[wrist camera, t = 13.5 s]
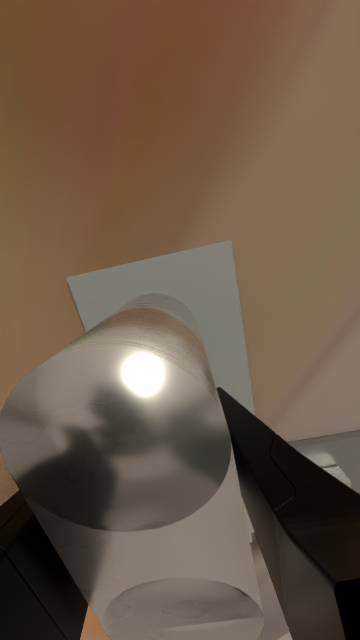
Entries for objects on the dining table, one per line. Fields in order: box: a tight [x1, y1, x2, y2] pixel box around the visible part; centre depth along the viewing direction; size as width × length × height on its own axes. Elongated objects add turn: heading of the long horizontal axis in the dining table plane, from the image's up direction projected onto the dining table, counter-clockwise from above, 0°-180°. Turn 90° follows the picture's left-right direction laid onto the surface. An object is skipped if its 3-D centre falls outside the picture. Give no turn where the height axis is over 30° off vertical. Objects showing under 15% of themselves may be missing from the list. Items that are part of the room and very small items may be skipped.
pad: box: [66, 240, 255, 415], centre depth 13 cm, size 10×13×1 cm
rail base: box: [288, 430, 360, 494], centre depth 15 cm, size 19×9×4 cm, turn 102°
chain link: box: [0, 293, 264, 640], centre depth 7 cm, size 4×10×6 cm, turn 12°
